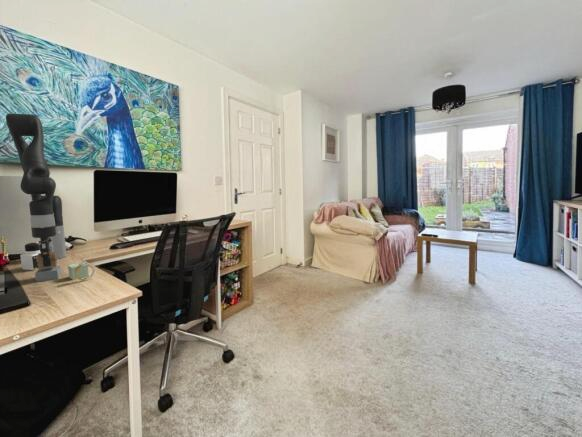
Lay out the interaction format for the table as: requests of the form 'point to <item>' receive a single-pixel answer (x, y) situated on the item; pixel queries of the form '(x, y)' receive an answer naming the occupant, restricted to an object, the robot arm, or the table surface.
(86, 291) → the table surface
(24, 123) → the robot arm
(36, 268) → the medicine bottle
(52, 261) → the walnut cube
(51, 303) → the table surface
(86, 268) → the sage cube
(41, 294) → the table surface
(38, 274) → the base block
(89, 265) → the bracelet
